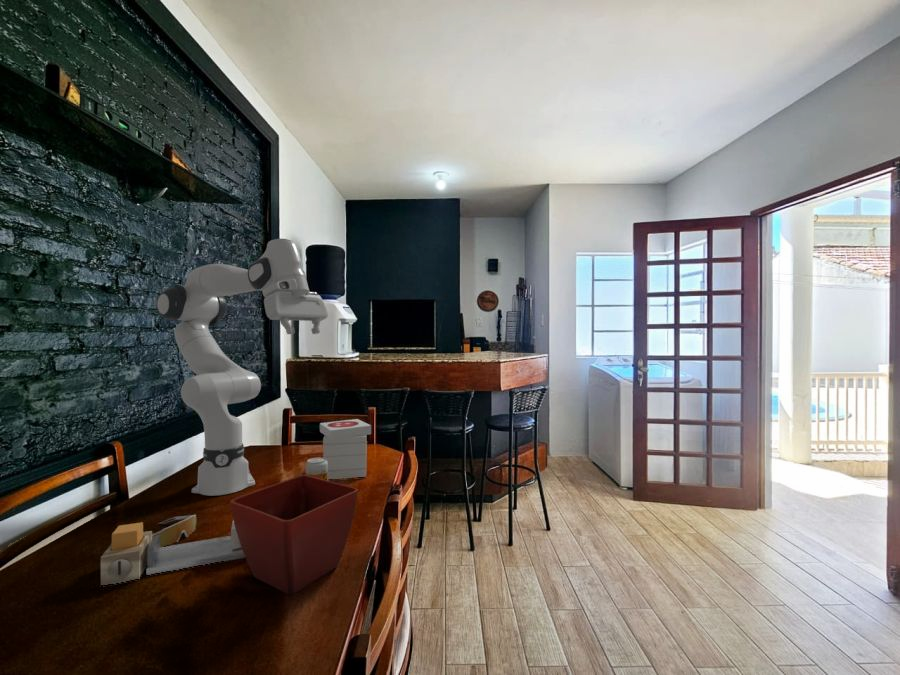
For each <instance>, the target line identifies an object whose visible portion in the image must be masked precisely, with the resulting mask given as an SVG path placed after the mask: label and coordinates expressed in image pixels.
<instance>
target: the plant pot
mask: <svg viewBox="0 0 900 675" xmlns="http://www.w3.org/2000/svg"><path fill="white" fill-rule="evenodd" d="M358 491H359V490H358V488H356V487H352V486H349V485H345V484H341V483H337V482H334V481H331V480H328V481H326V480H323V479H319V478H315V477H311V476H308V475H306V474H301V475H297V476H294V477H292V478H288V479H286V480H283V481H280V482H277V483H275V484H272V485H269V486H266V487H264V488H261V489H258V490H255V491H252V492H249V493H246V494H244V495H240V496H238V497H235V498H232V499H230V501H229V505H230V511H231V515H232V516H231V517H232V522H233V521H234V525H235V528H236V532H237V535H238V538H239V541H240V544H241V547H242V550H243V552H244V555H245V557H246V558H245V559H246V562H247V564H248V566H249V568H250V571H251V572H252V575H253V577H254V578H256V579H257V580H259V581H260V582H263V583H265V584H267V585H269V586H271V587H273V588H275V589H277V590H278V591H280V592H283V593H285V594H287V595H294V594H297V592H300V591H301V590H302V589H304V588H306V587H307V586H309V585H310V584H312V583H314V582H315V581H317V580H318V579H320V578H321V577H323V576H324V575H326V574H328V573H330V572H331V571H333V570H335V569H336V568H338V566H339V565H340V564H339V563H340V561H341V559H342V557H343V553H344V550H345V548H346V544H347V541H348V538H349V534H350V531H351V528H352V524H353V520H354V515H355V510H356V503H357V499H358Z"/></svg>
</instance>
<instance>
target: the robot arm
mask: <svg viewBox="0 0 900 675" xmlns="http://www.w3.org/2000/svg"><path fill="white" fill-rule="evenodd" d="M303 267H304V266H303V261H302V258H301V254H300V251H299V248H298V246H297V244H296V243H295V242H294V241H293V240H290V239H287V238H273V239H271V240H269V241H268V242H267V244H266V249H265V251H264V253H262V255H261V256H260V257H259V258H258V259H256V260H255V261H253V262H252V263H251V264H250V265H249V267H248V269H246V268H243V267H238V266H235V265H230V264H225V263H211V264H206V265H201V266H199V267H196V268H194V269H193V270H191V271H190V272H189V273H188V275H187V277H186V283H185V284H184V285H180V284H179V283H176V284H174V285H173V286H172V287H170V288H167V289H165V290H164V291H162V292H161V293H160V294H159V295H158V297H157V300H156V308H157V309H156V310H157V312H158V313H159V315H160V316H161V317H162V318H164V319H166V320H172V321H181V322H179V323H178V324H177V325H176V326H175V328H174V331H173V332H174V333H173V335H174V339H175V342H176V344H177V347H178V349H179V351H180V353H181V355H182V357H183V358H184V360H185V361H186V362H185V363H186V364H187V366H188V367H189V369H190V370H191V371H192V373H194V374H196V375H194V376H191V377H188V378H186V380H185V381H184V382H183V384H182V385H181V390H180V395H181V396H180V397H181V399H182V401H183V402H184V404H185V405H187V406H188V407H189V408H191V409H193V410H194V411H195V412H196V413H197V414H198V416H199V418H200V419H201V421H202V424H203V431H204V432H203V433H204V448H203V452H202V456H203V457H202V458H203V462H202V463H201V464H200V465H199V466H198V469H197V484H196V485H195V486H194V487H192V488H191V493H193V494H200V495H202V496H209V497H210V496H211V497H212V496H223V495H229V494H233V493H236V492H239V491H242V490H244V489H246V488H248V487H252V486H254V485H256V481H255V479H254V477H253V476H252V474H251V471H250V469H249V461H248V460H247V458H245V457H244V455H245V447H244V445H245V444H244V443H243V423H242V420H240V418H238V417H237V416H235V415H232V414H231V413H230V412H229V409H228V405H232V404H239V403H243V402H247V401H250V400H252V399H255V398H256V397H257V396H259V393H260V391H261V388H262V386H261V385H262V384H261V379H260V377H259V376H258V375H257V373H255V372H252V371H250V370H248V369H245V368H243V367H241V366H240V365H238V364H237V363H235V362H234V361H232V359H230V358H229V357H228V356H227V355H226V354H225V352H223V350H222V349H221V347H220V346H219V344H218V342H217V340H215V338H214V336H213V335H212V333H211V332H210V329H209V327H214V326H216V325H217V324H218V322H220V321H221V320H222V319H223V318H224V316H225V315H226V314H227V313H226V312H227V311H228V304H227V300H226V298H225V297H228V296H233V295H234V296H235V295H239V294H244V293H250V292H255V291H256V292H258V291H261V292H262V295H263V297H264V299H263V304H264V310H265V314H266V317H267V318H268V319H269V320H270V321H272V320H273V321H274V320H275V321H280V325H281V326H282V327H283V328H284V329H285V331H286V334H287V335H294V334H295V333H296V331H295V327H294V326H292V324H290V322H289V321H301V322H302V321H306V322H308V321H309V322H310V321H311V324H312V325H313V326H312V328H311V329H310V330H311V333H312V335H318V334H320V332H321V331H320V326H321V322H322V321H324V320H326V319H327V318H328V315H329V314H328V310H327V306H326V305H325V302H324V300H323V298H322V296H321V295H320V294H318V292H316V291H310V288H309V285H308V280H307V276H306V272H305V271H304V269H303Z"/></svg>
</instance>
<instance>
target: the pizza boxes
mask: <svg viewBox="0 0 900 675" xmlns="http://www.w3.org/2000/svg"><path fill="white" fill-rule="evenodd" d="M319 432H320V433H321V434H322V435H323V438H322V445H323V446H322V456H323V457H322V458H326V460H327V462H328V479H340V478H352V477H365V476H366V477H367V455H368V454H367V452H368V451H367V450H368V448H367V436H369V435H372V425H371V424H369V423H367V422H364V421H362V420H360V419H359V418H353V419H345V420H339V421H338V420H336V421H327V422H320V423H319ZM340 480H341V479H340Z"/></svg>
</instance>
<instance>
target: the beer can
mask: <svg viewBox="0 0 900 675" xmlns="http://www.w3.org/2000/svg"><path fill="white" fill-rule="evenodd" d="M305 475H308V476H311V477H315V478H319V479H323V480H326V481H329V480H328V462H327V460H326V458H323V457H321V456H318V457H312V458H309V459H307V460H306V464H305Z"/></svg>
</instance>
